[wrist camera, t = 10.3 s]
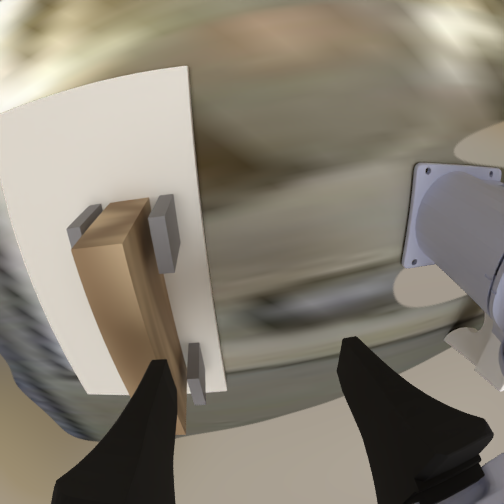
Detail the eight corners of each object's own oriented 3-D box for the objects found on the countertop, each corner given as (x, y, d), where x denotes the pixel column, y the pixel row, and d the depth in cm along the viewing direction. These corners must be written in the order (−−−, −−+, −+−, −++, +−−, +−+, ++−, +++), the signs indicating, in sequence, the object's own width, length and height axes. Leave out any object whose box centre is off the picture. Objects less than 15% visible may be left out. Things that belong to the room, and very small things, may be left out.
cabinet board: (188, 67, 15) (180, 56, 11) (226, 382, 26) (229, 424, 22) (-2, 116, 14) (-44, 126, 10) (90, 385, 25) (79, 423, 21)
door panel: (149, 197, 17) (122, 243, 12) (187, 371, 24) (185, 434, 18) (110, 202, 17) (70, 249, 12) (158, 372, 23) (151, 434, 18)
